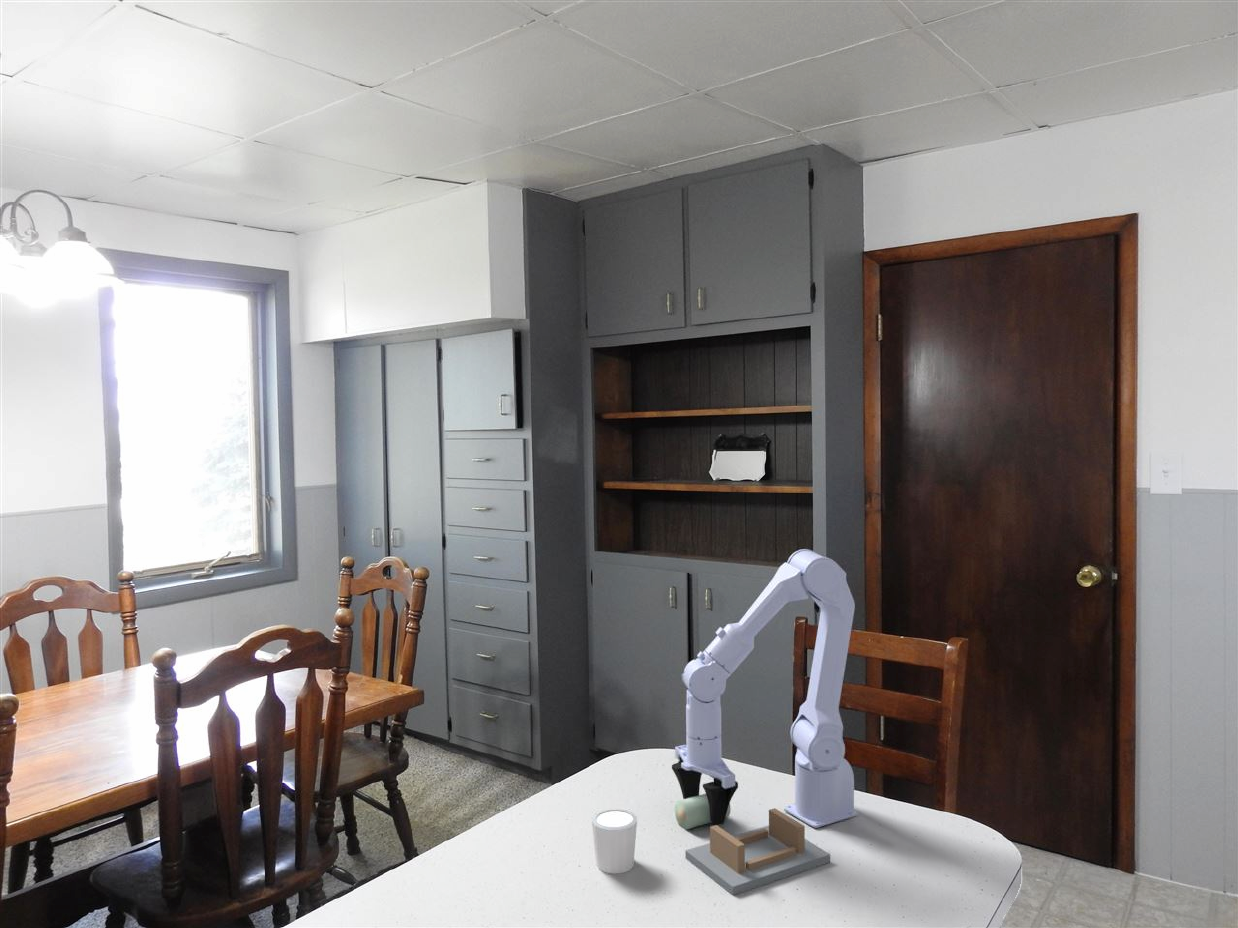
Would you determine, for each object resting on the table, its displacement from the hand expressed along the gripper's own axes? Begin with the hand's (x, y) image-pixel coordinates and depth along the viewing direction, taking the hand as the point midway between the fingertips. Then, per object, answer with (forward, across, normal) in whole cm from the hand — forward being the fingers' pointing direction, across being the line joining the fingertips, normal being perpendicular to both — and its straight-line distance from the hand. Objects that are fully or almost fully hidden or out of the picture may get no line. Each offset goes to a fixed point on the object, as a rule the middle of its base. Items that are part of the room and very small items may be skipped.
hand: (704, 814), depth 146 cm
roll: (+2, 0, 0) cm, 2 cm away
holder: (+1, +14, 0) cm, 14 cm away
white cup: (+2, +4, -19) cm, 19 cm away
